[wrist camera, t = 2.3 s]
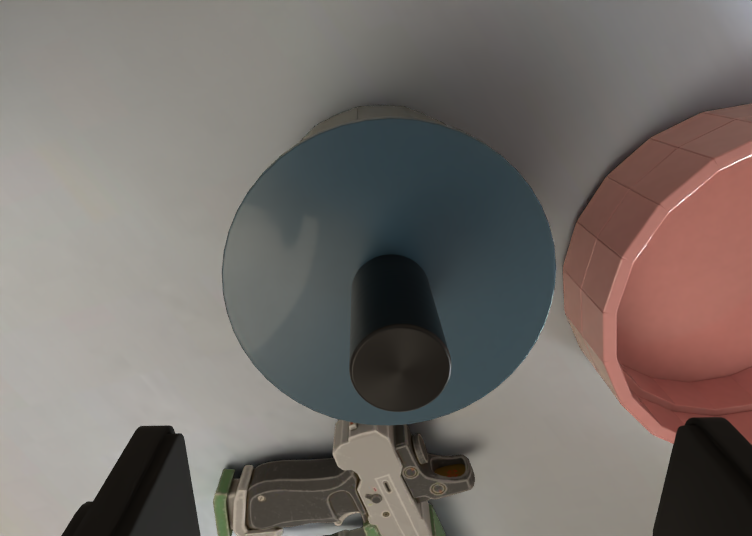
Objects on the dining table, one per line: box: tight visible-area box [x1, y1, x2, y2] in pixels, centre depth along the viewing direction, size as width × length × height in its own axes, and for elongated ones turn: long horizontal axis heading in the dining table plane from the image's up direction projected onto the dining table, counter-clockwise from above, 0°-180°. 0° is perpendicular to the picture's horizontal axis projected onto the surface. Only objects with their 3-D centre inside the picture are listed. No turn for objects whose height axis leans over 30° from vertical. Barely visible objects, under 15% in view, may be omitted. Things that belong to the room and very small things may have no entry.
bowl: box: [563, 104, 752, 445], centre depth 26 cm, size 16×16×6 cm
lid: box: [222, 116, 556, 426], centre depth 17 cm, size 11×11×6 cm
